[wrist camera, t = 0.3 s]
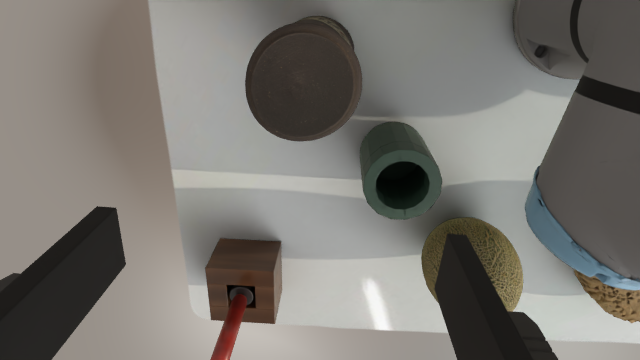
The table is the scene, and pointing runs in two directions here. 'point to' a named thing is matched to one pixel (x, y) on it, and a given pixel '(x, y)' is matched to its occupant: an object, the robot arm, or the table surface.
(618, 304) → the sponge
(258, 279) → the holder
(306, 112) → the container
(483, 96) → the table surface
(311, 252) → the table surface
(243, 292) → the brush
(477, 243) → the fruit
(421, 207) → the green hollow cylinder
